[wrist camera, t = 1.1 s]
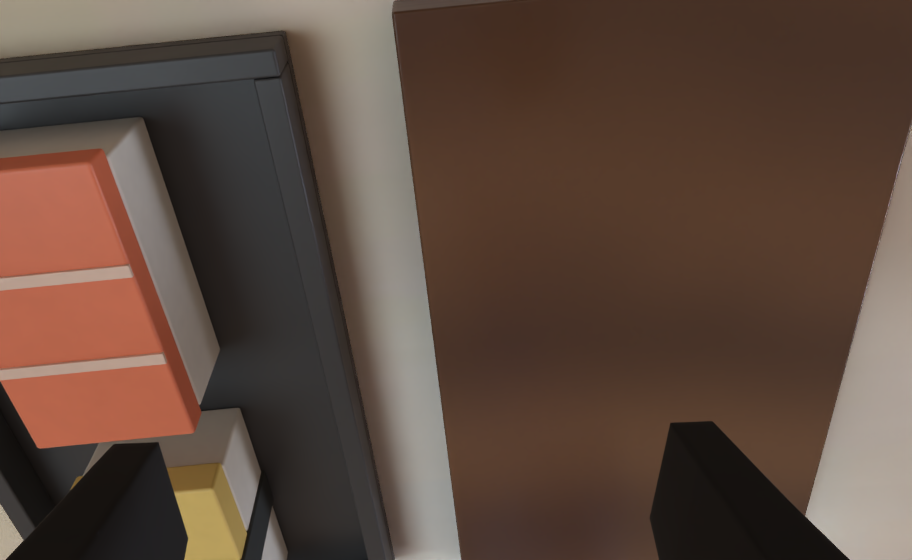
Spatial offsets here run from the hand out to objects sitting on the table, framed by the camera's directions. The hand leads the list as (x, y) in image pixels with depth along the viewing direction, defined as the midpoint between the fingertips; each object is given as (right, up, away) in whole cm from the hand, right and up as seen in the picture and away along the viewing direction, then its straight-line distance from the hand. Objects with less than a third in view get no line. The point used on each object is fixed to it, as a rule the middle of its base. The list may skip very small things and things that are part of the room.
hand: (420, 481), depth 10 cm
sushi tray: (-8, 0, +11) cm, 14 cm away
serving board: (+6, +1, +11) cm, 13 cm away
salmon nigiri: (-9, +4, +8) cm, 12 cm away
